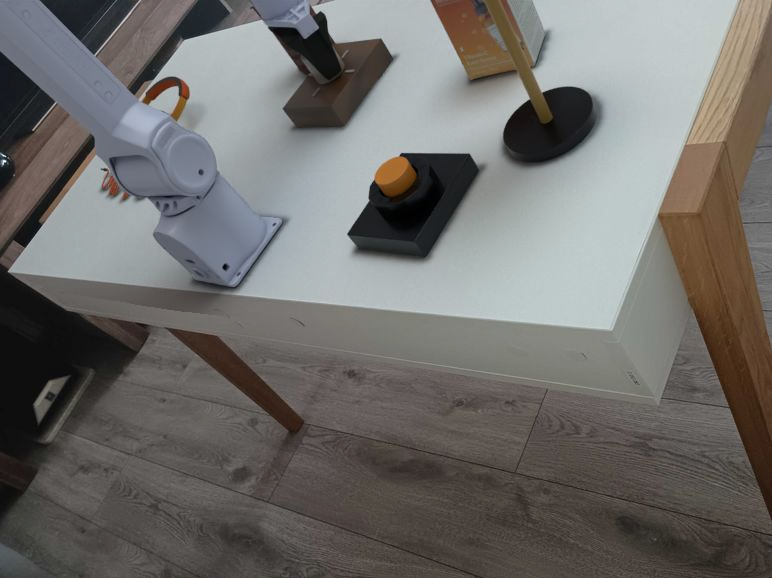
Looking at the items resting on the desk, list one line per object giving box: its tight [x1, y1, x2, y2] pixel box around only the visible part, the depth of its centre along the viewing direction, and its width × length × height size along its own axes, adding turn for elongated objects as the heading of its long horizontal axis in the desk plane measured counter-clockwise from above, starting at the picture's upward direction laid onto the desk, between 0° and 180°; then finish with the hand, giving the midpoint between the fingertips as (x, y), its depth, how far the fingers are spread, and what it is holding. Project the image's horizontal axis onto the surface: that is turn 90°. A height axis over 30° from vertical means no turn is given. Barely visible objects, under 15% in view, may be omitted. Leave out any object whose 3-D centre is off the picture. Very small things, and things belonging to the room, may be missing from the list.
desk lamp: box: [484, 0, 598, 164], centre depth 63 cm, size 10×10×24 cm
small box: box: [429, 0, 546, 81], centre depth 78 cm, size 8×6×10 cm
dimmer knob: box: [300, 47, 345, 84], centre depth 91 cm, size 4×4×4 cm
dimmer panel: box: [282, 37, 394, 128], centre depth 93 cm, size 12×9×3 cm
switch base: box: [346, 152, 480, 257], centre depth 72 cm, size 11×9×4 cm
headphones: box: [100, 76, 191, 201], centre depth 109 cm, size 17×5×20 cm
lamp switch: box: [373, 156, 417, 197], centre depth 70 cm, size 4×4×2 cm
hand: (328, 69), depth 92 cm, fingers closed on dimmer knob, 4 cm apart
